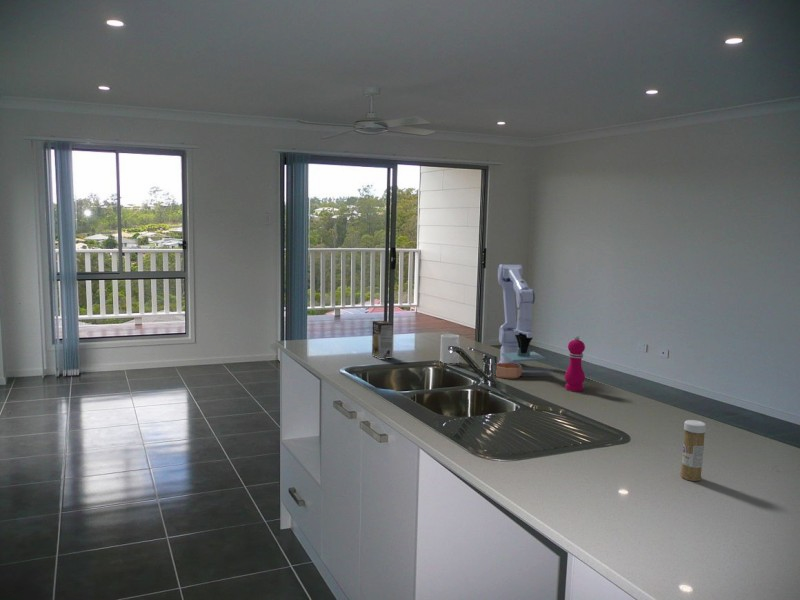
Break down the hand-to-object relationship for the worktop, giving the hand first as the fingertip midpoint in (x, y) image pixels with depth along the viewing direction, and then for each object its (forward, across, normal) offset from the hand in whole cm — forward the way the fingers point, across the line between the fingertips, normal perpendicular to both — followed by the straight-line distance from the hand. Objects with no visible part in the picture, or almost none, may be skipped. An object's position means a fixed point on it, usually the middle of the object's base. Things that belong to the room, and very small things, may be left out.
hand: (523, 352), depth 249 cm
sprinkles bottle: (+10, +108, +3) cm, 108 cm away
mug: (+9, -23, -24) cm, 34 cm away
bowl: (+9, +3, -8) cm, 12 cm away
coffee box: (+9, -36, -53) cm, 65 cm away
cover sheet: (+2, 0, 0) cm, 2 cm away
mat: (+9, -3, +7) cm, 12 cm away
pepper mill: (+9, +25, +11) cm, 29 cm away
